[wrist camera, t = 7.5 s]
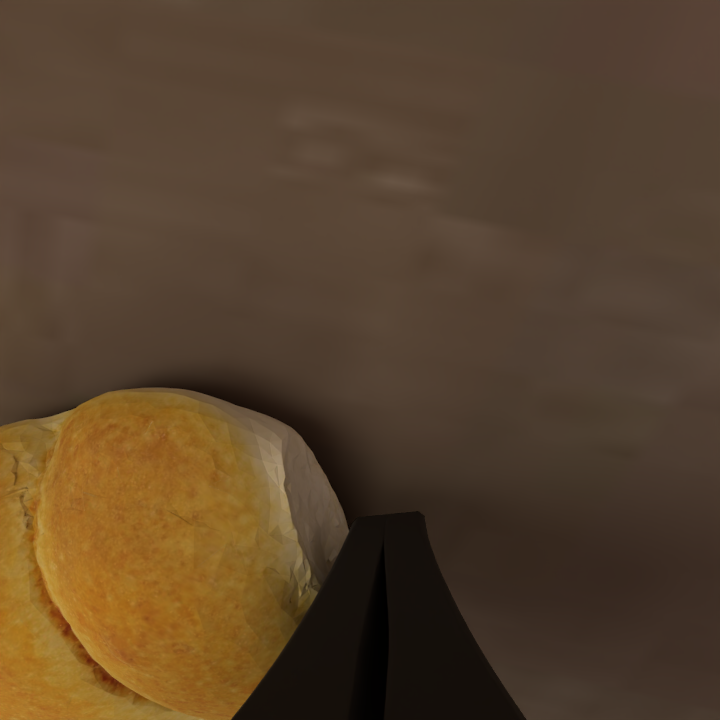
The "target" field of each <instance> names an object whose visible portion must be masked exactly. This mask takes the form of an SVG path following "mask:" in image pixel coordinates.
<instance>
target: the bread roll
mask: <svg viewBox="0 0 720 720" xmlns="http://www.w3.org/2000/svg"><path fill="white" fill-rule="evenodd" d="M348 533H349V529H348V526H347V522H346V519H345V515H344V512H343V509H342V507H341V505H340V503H339V501H338V498H337V496H336V494H335V492H334V491H333V489H332V487H331V485H330V483H329V481H328V479H327V476H326V475H325V473H324V472H323V470H322V469H321V467H320V465H319V464H318V462H317V460H316V458H315V456H314V454H313V452H312V451H311V450H310V448H309V447H308V446H307V444H306V443H305V441H304V440H303V438H302V437H301V436H300V435H299V434H298V433H297V432H296V431H295V430H294V429H293V428H291V427H290V426H288V425H286V424H284V423H282V422H281V421H279V420H276V419H274V418H272V417H269V416H267V415H264V414H262V413H259V412H256V411H253V410H250V409H247V408H244V407H240V406H236V405H234V404H232V403H229V402H227V401H224V400H221V399H218V398H215V397H212V396H209V395H206V394H202V393H199V392H195V391H191V390H186V389H176V388H162V387H157V388H136V389H124V390H117V391H110V392H106V393H104V394H102V395H99V396H97V397H95V398H93V399H91V400H89V401H87V402H85V403H83V404H81V405H79V406H78V407H76V408H75V409H73V410H69V411H66V412H63V413H60V414H57V415H54V416H51V417H46V418H41V419H27V420H23V421H19V422H14V423H10V424H7V425H4V426H0V720H204V719H205V720H231V719H232V717H233V716H234V715H235V714H236V712H237V711H238V710H239V709H240V707H241V706H242V705H243V704H244V702H245V701H246V700H247V699H248V697H249V696H250V695H251V693H252V692H253V691H254V689H255V688H256V687H257V685H258V684H259V683H260V681H261V680H262V679H263V677H264V676H265V675H266V673H267V672H268V670H269V669H270V668H271V666H272V665H273V663H274V662H275V660H276V659H277V657H278V656H279V655H280V653H281V652H282V650H283V649H284V647H285V646H286V644H287V643H288V641H289V639H290V638H291V636H292V635H293V633H294V631H295V630H296V628H297V627H298V625H299V623H300V622H301V620H302V619H303V617H304V615H305V614H306V612H307V611H308V609H309V607H310V606H311V604H312V602H313V601H314V599H315V597H316V595H317V593H318V591H319V590H320V588H321V586H322V584H323V582H324V581H325V579H326V577H327V575H328V573H329V572H330V570H331V568H332V566H333V564H334V562H335V560H336V558H337V556H338V554H339V552H340V550H341V548H342V546H343V544H344V541H345V539H346V537H347V535H348Z"/></svg>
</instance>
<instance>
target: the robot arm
mask: <svg viewBox="0 0 720 720" xmlns="http://www.w3.org/2000/svg"><path fill="white" fill-rule="evenodd" d="M231 720H526V718H525V717H524V715H523V714H522V712H521V711H520V709H519V708H518V706H517V705H516V704H515V702H514V701H513V699H512V698H511V696H510V695H509V693H508V692H507V690H506V689H505V687H504V686H503V684H502V683H501V681H500V680H499V678H498V676H497V675H496V673H495V672H494V670H493V669H492V667H491V665H490V664H489V662H488V661H487V659H486V657H485V656H484V654H483V652H482V651H481V649H480V647H479V646H478V644H477V642H476V640H475V639H474V637H473V635H472V633H471V631H470V630H469V628H468V626H467V624H466V622H465V621H464V619H463V617H462V615H461V613H460V611H459V609H458V607H457V605H456V603H455V601H454V599H453V597H452V595H451V593H450V591H449V589H448V587H447V584H446V582H445V580H444V578H443V576H442V574H441V571H440V569H439V567H438V564H437V562H436V559H435V556H434V554H433V551H432V548H431V545H430V542H429V539H428V534H427V528H426V522H425V516H424V515H423V514H421V513H420V512H418V511H416V512H406V513H396V514H386V515H376V516H366V517H357V518H356V520H355V521H354V522H353V523H352V526H351V528H350V530H349V533H348V535H347V537H346V539H345V541H344V544H343V546H342V548H341V550H340V552H339V554H338V556H337V558H336V560H335V562H334V564H333V566H332V568H331V570H330V572H329V573H328V575H327V577H326V579H325V581H324V582H323V584H322V586H321V588H320V590H319V591H318V593H317V595H316V597H315V599H314V601H313V602H312V604H311V606H310V607H309V609H308V611H307V612H306V614H305V615H304V617H303V619H302V620H301V622H300V623H299V625H298V627H297V628H296V630H295V631H294V633H293V635H292V636H291V638H290V639H289V641H288V643H287V644H286V646H285V647H284V649H283V650H282V652H281V653H280V655H279V656H278V657H277V659H276V660H275V662H274V663H273V665H272V666H271V668H270V669H269V670H268V672H267V673H266V675H265V676H264V677H263V679H262V680H261V681H260V683H259V684H258V685H257V687H256V688H255V689H254V691H253V692H252V693H251V695H250V696H249V697H248V699H247V700H246V701H245V702H244V704H243V705H242V706H241V707H240V709H239V710H238V711H237V712H236V714H235V715H234V716H233V717H232V719H231Z"/></svg>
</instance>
